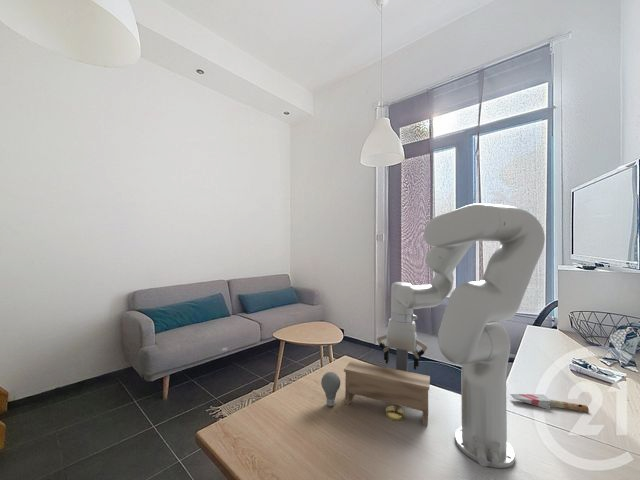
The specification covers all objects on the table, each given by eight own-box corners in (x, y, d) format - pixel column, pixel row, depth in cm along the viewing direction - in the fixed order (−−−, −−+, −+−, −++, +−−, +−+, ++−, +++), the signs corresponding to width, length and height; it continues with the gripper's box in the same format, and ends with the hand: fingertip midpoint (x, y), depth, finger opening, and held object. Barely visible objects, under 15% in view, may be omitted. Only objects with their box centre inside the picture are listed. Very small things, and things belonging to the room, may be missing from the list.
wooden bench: (429, 426, 72) (429, 387, 73) (343, 403, 83) (344, 369, 83) (430, 412, 79) (430, 376, 79) (350, 392, 89) (350, 360, 89)
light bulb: (344, 405, 82) (344, 372, 82) (331, 413, 78) (331, 379, 78) (329, 397, 86) (329, 366, 86) (317, 405, 82) (317, 372, 82)
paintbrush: (509, 388, 87) (582, 400, 82) (508, 396, 87) (582, 409, 82) (514, 394, 83) (591, 408, 78) (514, 403, 83) (591, 417, 78)
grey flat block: (403, 404, 83) (403, 359, 83) (392, 401, 84) (392, 357, 85) (407, 386, 94) (407, 346, 94) (397, 384, 95) (397, 345, 95)
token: (402, 423, 74) (402, 418, 74) (384, 419, 76) (384, 413, 76) (404, 413, 78) (404, 408, 79) (387, 409, 81) (387, 404, 81)
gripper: (428, 317, 93) (427, 365, 93) (379, 311, 101) (378, 356, 101) (427, 323, 87) (426, 375, 86) (375, 316, 94) (374, 364, 94)
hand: (400, 365), depth 94 cm, fingers open, 9 cm apart
